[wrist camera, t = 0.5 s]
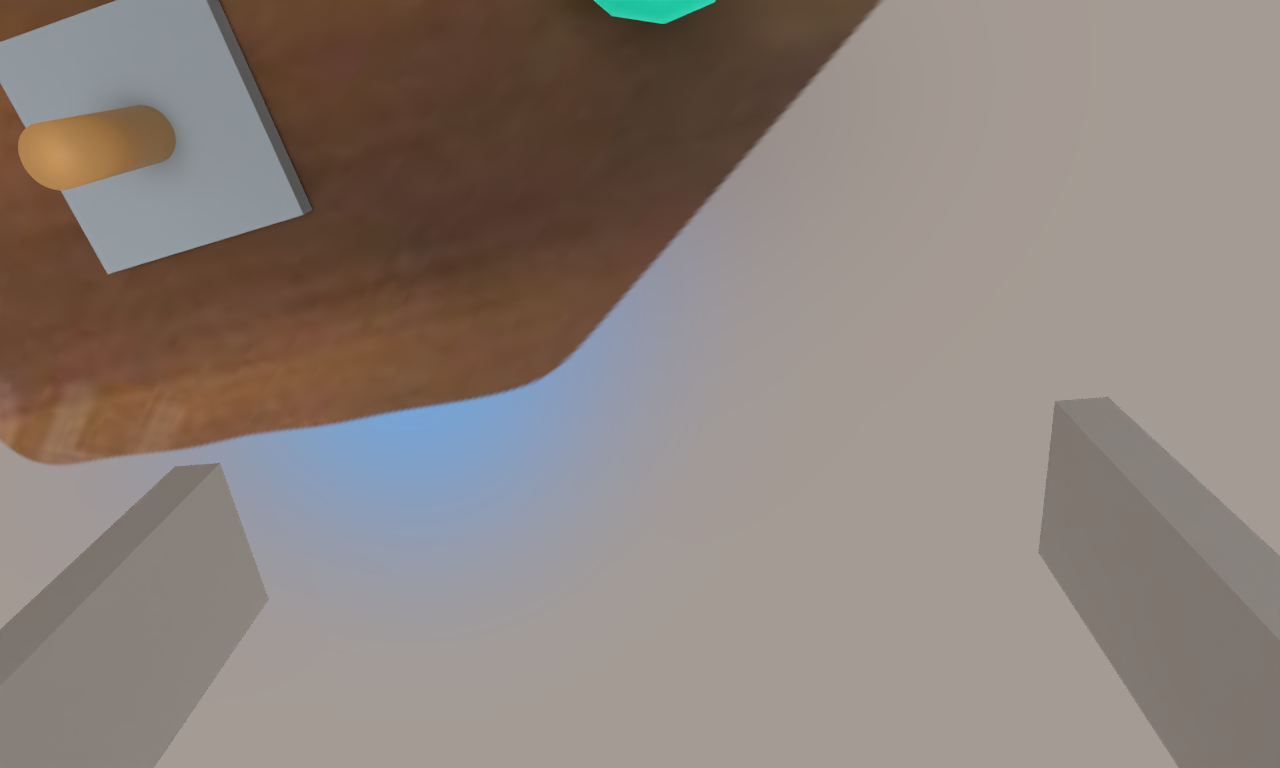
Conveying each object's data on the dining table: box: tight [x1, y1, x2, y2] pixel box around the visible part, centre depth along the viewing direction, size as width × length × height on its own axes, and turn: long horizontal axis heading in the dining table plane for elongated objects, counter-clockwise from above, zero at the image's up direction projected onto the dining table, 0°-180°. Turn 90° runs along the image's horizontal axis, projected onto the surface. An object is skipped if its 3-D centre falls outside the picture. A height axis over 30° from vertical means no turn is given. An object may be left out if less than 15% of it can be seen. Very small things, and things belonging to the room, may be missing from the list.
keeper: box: [0, 0, 312, 274], centre depth 34 cm, size 10×10×7 cm
